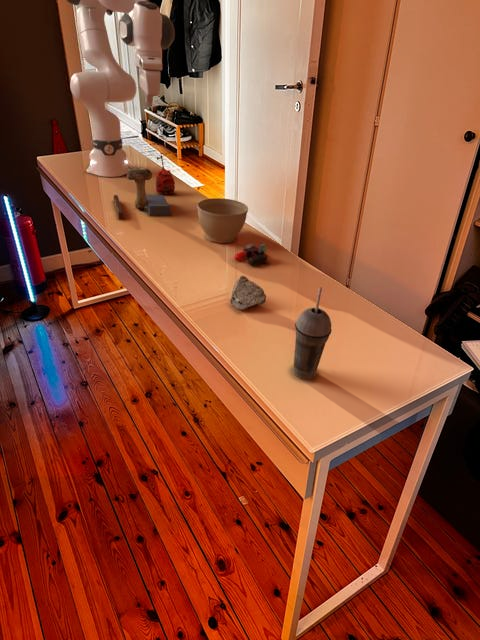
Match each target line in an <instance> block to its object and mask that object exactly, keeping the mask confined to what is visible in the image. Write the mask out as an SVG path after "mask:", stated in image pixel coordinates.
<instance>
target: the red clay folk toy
mask: <svg viewBox="0 0 480 640" xmlns="http://www.w3.org/2000/svg"><path fill="white" fill-rule="evenodd" d="M163 157H164V155H162V152H160V155H159V157H158V156H157V157H156V160H157V161H158V160H161V165H162V167H161V170H158V173H157V175H156V178H155V190H156V193H157V194H158V195H164V196H166V195H173V194H174V193H175V189H176V184H175V183H176V181H175V179H174V177H173V175H172V172H171V170H170V169H165V165H164V164H165V162H164V159H163Z"/></svg>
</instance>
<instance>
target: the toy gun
mask: <svg viewBox="0 0 480 640" xmlns="http://www.w3.org/2000/svg"><path fill="white" fill-rule="evenodd" d="M265 250H266V243H264V242H263V243H262V244H261V245H259V246H256V245H254V244H253V243H251V242H250V243H247V245H246V247H245V248H243V250H242V251H240V252H238V253H236V254H234V257H233V258H234V260H235V261H237V262H238V261H240V260H243V259H245V258H248V264H249V265H250V266H251V267H254V266H258V265H261V264H267V263H268V257H269V255H267V253H265Z"/></svg>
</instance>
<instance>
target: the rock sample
mask: <svg viewBox="0 0 480 640" xmlns="http://www.w3.org/2000/svg"><path fill="white" fill-rule="evenodd" d="M266 300H267V294H266V293H265V291H264V289H263V288H262V286H260V285H258V284H257V283H256V282H254V281H252V280H250V279H249V278H248V277H246V275H240V277H239V278H238V279H237V280H236V281H235V283H234V285H233V288H232V290H231V295H230V298H229V303H230V305H232V307H234V308H235V310H247V309H248V308H250V307H253V306H256V305H264V304H265V303H266Z"/></svg>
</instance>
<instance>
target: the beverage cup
mask: <svg viewBox="0 0 480 640" xmlns="http://www.w3.org/2000/svg"><path fill="white" fill-rule="evenodd" d="M322 292H323V287H322V286H319V287H318V293H317V298H316V303H315V304H316V305H315V307H309V308H306V309H304V310H303V311H302V312H300V314H299V315H298V317H297V319H296V321H295V324H294V328H295V329H294V330H295V345H294V356H293V374H294V376H295V377H296V378H297V379H300V380H303V381H304V380H305V381H306V380H307V381H309V380H312V379H314V377H315V375H316V373H317V371H318V368H319V365H320V363H321V362H320V361H321V359H322V355H323V353H324V349H325V346H326V343H327V342H328V341H329V338H330V335H331V334H332V321H331V318H330V315H329V314H328V313H327V312H326V311H325V310H323V309H321V308H319V306H320V301H321V296H322Z"/></svg>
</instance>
